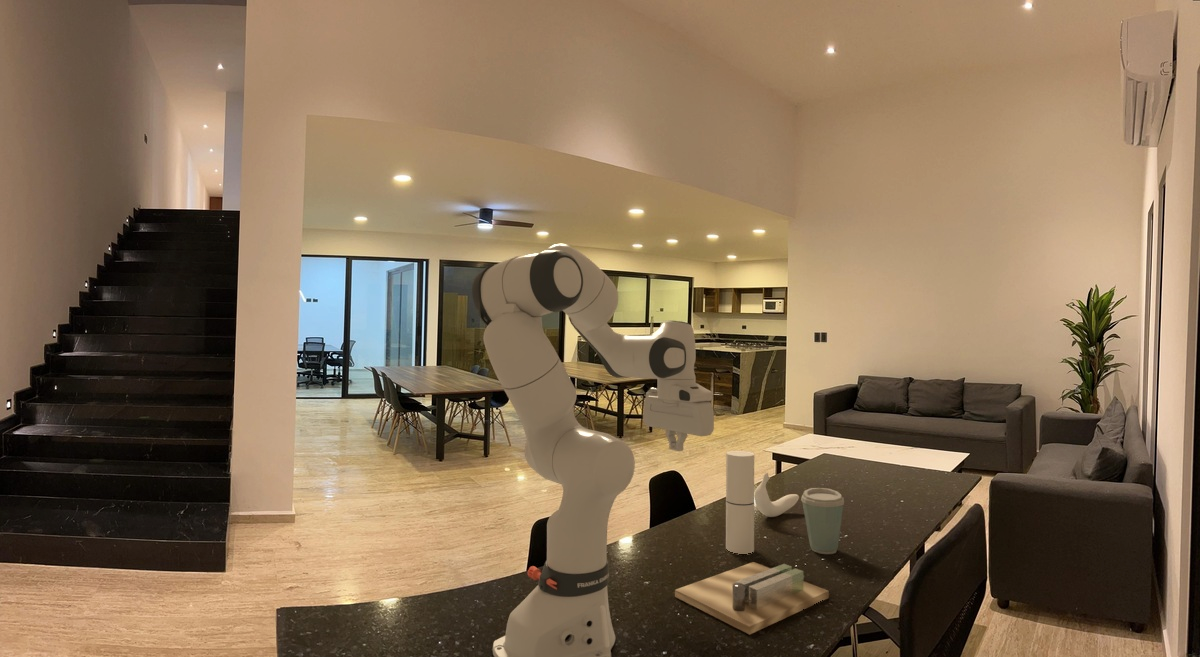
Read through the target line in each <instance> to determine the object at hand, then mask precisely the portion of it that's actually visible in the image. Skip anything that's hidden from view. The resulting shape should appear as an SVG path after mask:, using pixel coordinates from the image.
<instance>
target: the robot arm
mask: <svg viewBox="0 0 1200 657" xmlns="http://www.w3.org/2000/svg"><path fill="white" fill-rule="evenodd" d="M471 294H472V300H473V304H474V307H475V309H476V312H477V313H478V315H479V318H480V320H481V322H482V323H484V325H485V326H486V328H485V329H484V331H483V344H484V347H485V350H486V354H487V356H488V359H489V362H490V364H491V366H492V369H493V371H494V373H495V376H496V377H497V380H498V383H500V386H501V388H502V389H503V391H504V392H505V394H506V396H507V398H508V400H509V401H510V403H511V405H512V407H513V409H514V410H515V412H516V414H517V416H518V418H519V420H520V422H521V425H522V427H523V431H524V434H525V438H526V441H525V445H524V456H525V461H526V463H527V465H528V466H529V467H530V468H531V470H533V471H534V472H536V473H537V475H539V476H541V477H542V478H544V479H546V480H547V481H550V482H553V483H555V484H558V485H559V484H560V485H561V486H562V497H561V502H560V504H559V507H558V509H557V510H556V511H554V512H553V513H551V515H550V516H549V518H548V520H547V523H546V560H545V562H544V564H543V567H542V570H541V569H539V568H537V567H536V566H534V565H532V566H530V567H529V568H528V570H527V576H528V577H529V578H530V579H532V580H534V581H538V582H537V584H538V585H536V586H535V588H534V589H533V590H532V591H530V593H529V594H528V595H527V596H526V597H525V599H523V600H522V601H521V602H520V603H519V604H518V605H517V606H516V607H515V608H514V609H513V610H512V611H511V612H510V614H509V617H508V618H507V619H508V620H507V622H506V628H505V629H506V630H505V635H503V636H501V637H499V638H498V639H495V640H494V641H493V645H492V655H493V657H612V652H611V650H612V648H613V647H614V645H615V643H616V634H615V631H614V627H613V624H612V619H611V612H610V605H609V596H608V592H609V591H608V584H609V583H610V562H609V560H608V559H607V556H608V555H607V552H608V551H607V550H608V549H607V546H608V527H609V526H608V523H609V517H610V513H611V511H612V508H613V505H614V503H615V500H616V498H617V497H619V495H620V494H621V493H623V492H624V491H625V490H626V489H627V488H628V486H629V485H630V484H631V482H632V480H633V478H634V473H635V468H636V465H635V464H636V461H635V460H636V459H635V456H634V453H633V451H632V449H631V447H630V446H629V445H628V444H626V442H624V441H622V440H621V439H619V438H617V437H616V436H613V435H611V434H610V433H608V432H602V431H598V430H594V429H593V430H592V429H589V428H586V427H584V426H583V425H581V424H580V423H579V422H578V420H577V418H576V416H575V412H574V405H575V403H576V400H577V390H576V387H575V385H574V384H573V382H572V380H571V378H570V376H569V374H568V373H567V370H566V368H565V366H564V365H563V363H562V360H561V359H560V357H559V355H558V353H557V351H556V349H555V347H554V346H553V344H552V343H551V341H550V339H549V338H548V336H547V335H546V333H545V332H544V327H543V317H542V316H546V315H549V314H551V313H559V312H563V313H565V314H566V315H567V317H568V320H569V322H570V324H571V325H572V327H573V328H574V330H575V331H576V332H577V333H578V334H579V335H580V337H582V339H584V341H585V342H586V343H587V344H588V345H589V346H590V347H591V348H592V350H594V352H595V353H596V354H597V356H598V357H599V359H600V361H601V363H602V365H603V367H604V369H605V371H607V373H608V374H609V375H610V376H612V377H614V378H617V379H620V378H621V379H624V378H626V379H627V378H635V379H651V380H652V379H653V380H657V387H650V388H649V389H648V390H647V392H646V393H645V399H644V403H643V412H642V421H643V425H644V426H646V427H651V428H656V429H661V430H665V436H666V439H667V441H668V443H669V445H668V446H669V447H668V448H669V450H672V451H676V452H683V451H684V443H685V442H686V439H688V435H692V436H697V437H708V436H710V435H712V433H713V432H714V430H715V429H714V428H715V416H714V415H715V412H714V407H713V405H712V403H711V402H712V401H713V399H714V397H713V396H714V395H713V392H712V390H709V389H707V388H705V387H704V386H702V385H700V384H699V383H698V382H696V378H697V377H696V374H695V373H696V372H695V363H696V359H697V358H696V356H697V355H696V354H697V352H696V339H695V338H696V337H695V332H694V329H693V326H692V325H691V324H690V323H688V322H685V321H680V320H679V321H678V320H663V321H661V323H660V325H659V328H658V329H657V330H656V331H654V332H652V333H650V334H649V335H631V334H630V335H629V334H621V333H617V332H615V330H613V329H612V327H611V326H610V325H609V323H608V322H609V321H610V320H611V319H612V317H613V316H614V315H615V312H616V310H617V307H618V304H619V291H618V289H617V287H616V285H615V283H614V282H613V280H612V279H610V277H609V276H608V275H607V274H606V273H605V272H604V271H603V269H601V268H600V267H599V266H598V265H597V264H596V263H594V262H593V261H592V260H591V259H590V258H589V257H587V256H586V255H584V254H583V253H582V252H580V251H579V250H577V249H576V248H574V247H572V246H571V245H569V244H566V243H557V244H553V245H551V246H548V247H547V248H546V249H544V250H542V251H541V252H538V253H537V252H536V253H531V254H524V255H518V256H517V255H516V256H513V257H510V258H508V259H505V260H503V261H501V262H498V263H494V264H489V266H486V267H485V268H483V269H482V270H481V271H479V272H478V273H477V275H476V276H475V277H474V279H473V281H472V287H471ZM710 401H711V402H710ZM675 434H676V435H675ZM676 437H677V438H676Z"/></svg>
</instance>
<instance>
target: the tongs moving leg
mask: <svg viewBox="0 0 1200 657" xmlns="http://www.w3.org/2000/svg"><path fill="white" fill-rule="evenodd" d="M770 568H771V569H768V570H766V571H763V572H760V573H758V574H755V575H752V576H750V577H747V578H744V579H741V580H739V581H736V583H734V584H733V598H732V608H733V609H734V610H736V611H744V610H745V604H746V603H749V586H751V585H754V584H757V583H759V582H762V581H764V580H767V579H769V578H772V577H775V576H777V575H780V574H782V573H785V572H787V571H790V570H792V569H793V566H792V565H789V564H786V563H783V564H780V565H777V566H774V567H770Z"/></svg>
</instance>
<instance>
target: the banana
mask: <svg viewBox="0 0 1200 657" xmlns="http://www.w3.org/2000/svg"><path fill="white" fill-rule="evenodd" d="M769 480H771V478H770V476H769V472H766V473H764V474H763V476H762V480H761V482H760V484H759V485H757V487H756V488H755V489H754V504H755V505H756V508H757V510H758V511H759V512H760V513H761V514H762V515H764V516H766V517H768V518H776V517H778V516H780V515H783V513H785V512H787V511H789V510H790V509H791V508H793V507H794V506H795V505H796V504H797V502H798V501H799V499H800V496H799V494H796V493H792V494H791V493H790V494H786V495H785V496H784V495H783V496H782V497H780V498H778V499H776V500H775V501H771V499H770V497H769V493H768V490H767V487H766V486H767V483H768V481H769Z"/></svg>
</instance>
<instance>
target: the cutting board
mask: <svg viewBox="0 0 1200 657" xmlns="http://www.w3.org/2000/svg"><path fill="white" fill-rule="evenodd" d="M771 568H772V567H768V566H765V565H763V564H761V563H757V562H754V561H752V562H749V563H746V564H744V565H741V566H738V567H736V568H732V569H730V570H726V571H723V572H721V573H719V574H716V575H713V576H710V577H707V578H704V579H702V580H699V581H695V582H692V583H690V584H687V585H685V586H682V587H679V588H676V589H674V597H675V598H676V599H679V600H680V601H683V602H685V603H686V604H688V605H690V606H692V607H694V608H697V609H699V610H701V611H702V612H704V613H706V614H708V615H710V616H712V617H714V618H715V619H718V620H720V621H722V622H724V623H726V624H728V625H729V626H732V627H733V628H736V629H738V630H740V631H741V632H744V633H746V634H748V635H749V636H750V635H752V634H754V633H757V632H758V631H761V630H762V629H764V628H767V627H768V626H772V625H773V624H776V623H777V622H779V621H780V622H781V621H782V620H784V619H786V618H788V617H791V616H793V615H795V614H797V613H799V612H801V611H804V610H805V609H808V608H811V607H812V606H814V604H815V605H816V603H817V604H819V603H821V602H823V601H825V600H828V599H829V598H830V593H829V592H830V591H829V590H828V589H825V588H822V587H819V586H817V585H815V584H812V583H810V582H807V581H804V580H803V590H802V591H800V592H798V593H795V594H793V595H791V596H788V597H786V598H784V599H781V600H779V601H777V602H774V603H772V604H770V605H767V606H765V607H763V608H760V609H758V610H756V609H753V608H751V607H749V603H746V604H745V610H744V611H736V610H734V609H733V608H732V598H733V584H734V583H736V581H739V580H741V579H744V578H747V577H750V576H752V575H755V574H758V573H760V572H763V571H766V570H768V569H771ZM822 600H823V601H822ZM820 601H821V602H820ZM818 602H819V603H818ZM803 609H804V610H803Z"/></svg>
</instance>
